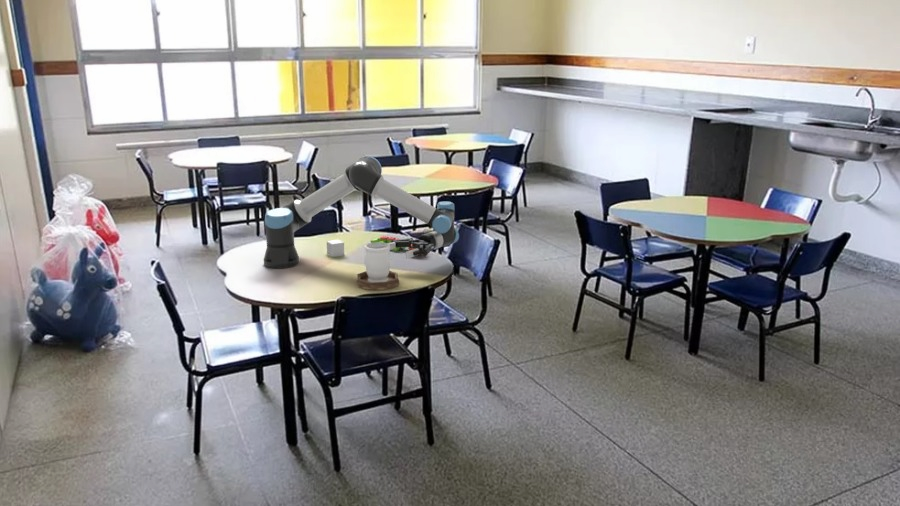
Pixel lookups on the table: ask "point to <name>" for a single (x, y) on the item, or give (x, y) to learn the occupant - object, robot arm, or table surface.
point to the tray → (363, 282)
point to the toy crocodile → (387, 241)
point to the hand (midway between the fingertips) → (394, 251)
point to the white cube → (335, 248)
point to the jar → (377, 261)
